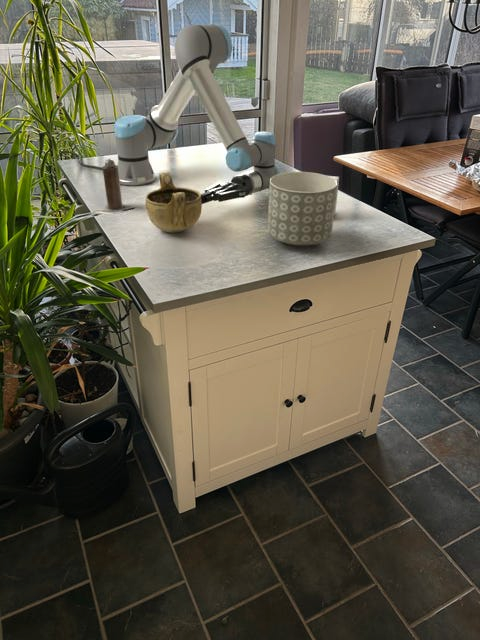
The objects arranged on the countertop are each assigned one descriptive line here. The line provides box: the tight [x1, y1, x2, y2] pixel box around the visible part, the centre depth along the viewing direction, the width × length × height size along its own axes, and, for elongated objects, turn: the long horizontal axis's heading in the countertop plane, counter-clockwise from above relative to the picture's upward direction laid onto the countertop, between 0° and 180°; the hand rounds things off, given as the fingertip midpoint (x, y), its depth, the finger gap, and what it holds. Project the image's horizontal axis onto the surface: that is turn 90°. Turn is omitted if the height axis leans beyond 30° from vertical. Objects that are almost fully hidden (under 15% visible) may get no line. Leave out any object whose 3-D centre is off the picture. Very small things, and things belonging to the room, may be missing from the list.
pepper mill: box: [101, 158, 124, 211], centre depth 170 cm, size 5×5×16 cm
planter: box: [267, 171, 338, 248], centre depth 147 cm, size 19×19×18 cm
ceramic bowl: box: [145, 172, 203, 234], centre depth 155 cm, size 22×17×15 cm
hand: (195, 201), depth 160 cm, fingers closed
